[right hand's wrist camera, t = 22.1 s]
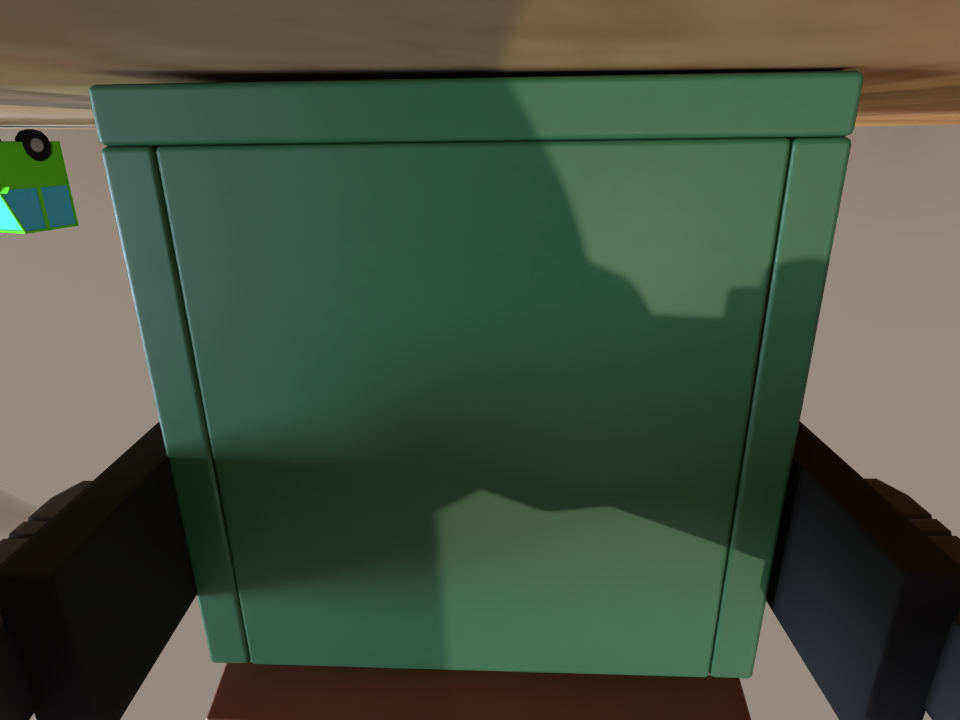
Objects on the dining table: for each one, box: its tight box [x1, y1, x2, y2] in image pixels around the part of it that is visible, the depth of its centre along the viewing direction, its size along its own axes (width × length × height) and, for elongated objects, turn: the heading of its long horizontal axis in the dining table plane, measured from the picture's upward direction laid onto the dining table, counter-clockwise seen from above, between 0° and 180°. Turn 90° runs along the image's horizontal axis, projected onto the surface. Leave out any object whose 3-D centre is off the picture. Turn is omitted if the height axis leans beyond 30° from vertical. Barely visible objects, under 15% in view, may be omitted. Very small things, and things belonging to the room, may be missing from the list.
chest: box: [89, 71, 863, 678], centre depth 16 cm, size 16×10×10 cm, turn 3°
